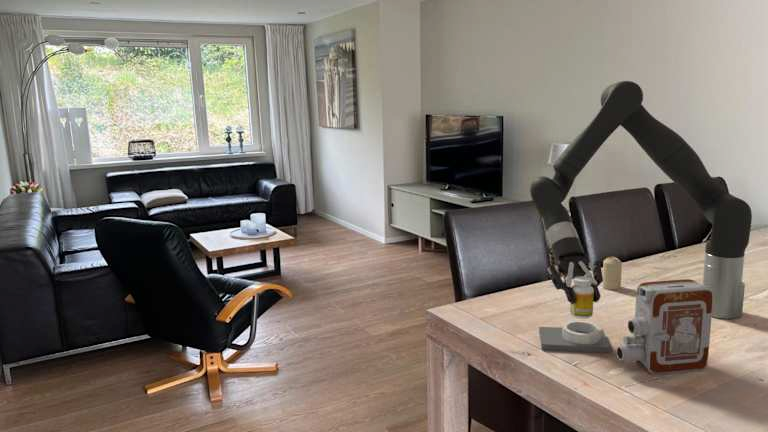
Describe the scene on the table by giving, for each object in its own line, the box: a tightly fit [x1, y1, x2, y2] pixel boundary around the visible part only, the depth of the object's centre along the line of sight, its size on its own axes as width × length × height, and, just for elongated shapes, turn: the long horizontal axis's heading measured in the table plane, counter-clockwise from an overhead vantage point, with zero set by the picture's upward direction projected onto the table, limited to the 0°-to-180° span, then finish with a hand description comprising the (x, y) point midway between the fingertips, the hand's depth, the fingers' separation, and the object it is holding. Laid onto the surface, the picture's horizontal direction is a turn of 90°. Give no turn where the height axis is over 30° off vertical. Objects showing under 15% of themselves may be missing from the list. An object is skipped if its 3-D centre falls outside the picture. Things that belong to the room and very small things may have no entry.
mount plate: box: [538, 320, 611, 354], centre depth 143 cm, size 16×11×4 cm
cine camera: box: [616, 278, 713, 375], centre depth 126 cm, size 9×19×20 cm, turn 95°
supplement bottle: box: [569, 276, 594, 320], centre depth 140 cm, size 5×5×10 cm
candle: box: [602, 256, 623, 291], centre depth 181 cm, size 6×6×10 cm
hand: (585, 301), depth 139 cm, fingers closed on supplement bottle, 5 cm apart
